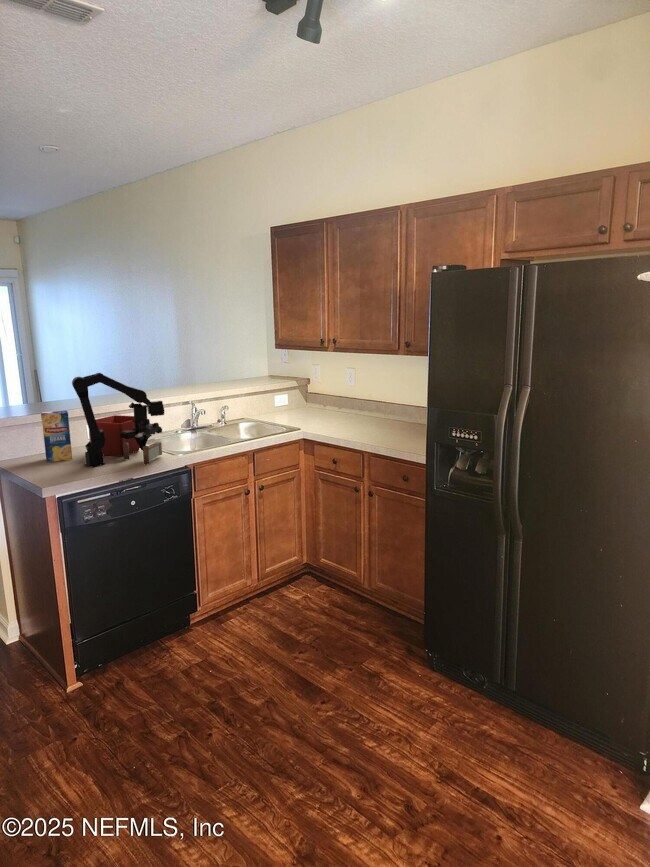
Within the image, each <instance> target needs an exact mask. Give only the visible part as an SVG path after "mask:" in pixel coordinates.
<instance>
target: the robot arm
mask: <svg viewBox="0 0 650 867" xmlns="http://www.w3.org/2000/svg"><path fill="white" fill-rule="evenodd" d="M97 384H102V385H105V386H107V387H109V388H111V389H113V390H116V391H118V392H120V393H122V394H124V395H125V396H127V397H129V398H130V399H132V400H133V401H134V402H136V403H134V402H133V401H132V402H131V403H130V404H129V405H128V407H129V409H133V416H134V419H133V422H134V423H135V428H133V430H134V431H129V430H127V431H122V432H121V434H120V436H121V438H125V439H131V438H134V439H135V440H136V441H137V443H138V445H139V447H140V448H139V449H140V450H141V452H143V446H147V443H148V440H149V439H150V438H151V437H153V435H155V434H162V433H163V428H162V426H160V424H159V422H153V423H151V421H150V419H149V418H148V415H150V417H157V416H164V415H165V408H164V403H163V400H157V401H151V400H150V399H148V398H147V396H148V395H147V393H146V391H144V390H142V388H137V387H134V386H133V387H132V386H129V385H127V384H124V383H122V382H120V381H118V380H115V379H113V378H111V377H109V376H107V375H104V374H103V373H101V372H96V373H94V374H91V375H90V374H89V375H86V376H83V377H82V376H75V377H74V378H73V379H72V381H71V385H72V388H73V389H74V391H75V393H76V395H77V397H78V399H79V401H80V404H81V408H82V412H83V415H84V418H85V420H86V424H87V427H88V435H89V436H88V437H89V442H87V443H86V444H85V449H86V451H85V452H84V456H85V463H84V464H83V465H84V466H86V467H90V468H95V467H101V466H103V465H106V463H105V462H104V460H105V459H104V455H103V454H102V451H101V448H103V447H104V445H105V440H106V438H105V437H104V431H103V430H102V429H101V430H99V429H98V426H97V423H96V417H95V413H94V411H93V407H92V403H91V401H90V398H89V397H90V396H89V387H92V386H95V385H97ZM142 403H143V404H142ZM138 432H140V433H138Z"/></svg>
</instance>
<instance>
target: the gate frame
mask: <svg viewBox="0 0 650 867" xmlns="http://www.w3.org/2000/svg"><path fill="white" fill-rule="evenodd" d="M148 446H149V445H146V446H143V451H142V458H143V465H144V464H145V465H146V466H147V464H148V465H150V460H149V451H148ZM123 450H124V456H123V459H128V460H130V454H129V444H128V443H123Z"/></svg>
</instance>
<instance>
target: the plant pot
mask: <svg viewBox="0 0 650 867" xmlns="http://www.w3.org/2000/svg"><path fill="white" fill-rule="evenodd" d="M133 419H134V415H121V414H120V415H119V414H118V415H117V414H115V415H114V414H113V415H110V416H104V417H100V418H95V420H96V423H97V426H98V429H99V430H101V429H102V430H103V431H104V437H105V438H106V440H105V445H104V447H103V448H101V451H102V454H103V456H111V457H112V456H113V457H124V450H123V443H128V444H129V455H130V454H134V453H137V451H138V452H139V451H140V449H141V448H140V447H139V445H138V443H137V441H136V440H135V439H134V438H131V439H125V438H121V436H120V434H121V432H122V431H127V430H129V431H134V430H133V428H135V423H134V422H133ZM138 433H140V432H138Z"/></svg>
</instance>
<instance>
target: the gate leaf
mask: <svg viewBox="0 0 650 867" xmlns="http://www.w3.org/2000/svg"><path fill="white" fill-rule="evenodd" d="M147 446H148V451H149V461H152V460H153V459H155V458H157V457H159V456H162V455H163V448H162V441H157V442H155V443H152V444H150V445H147Z"/></svg>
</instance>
